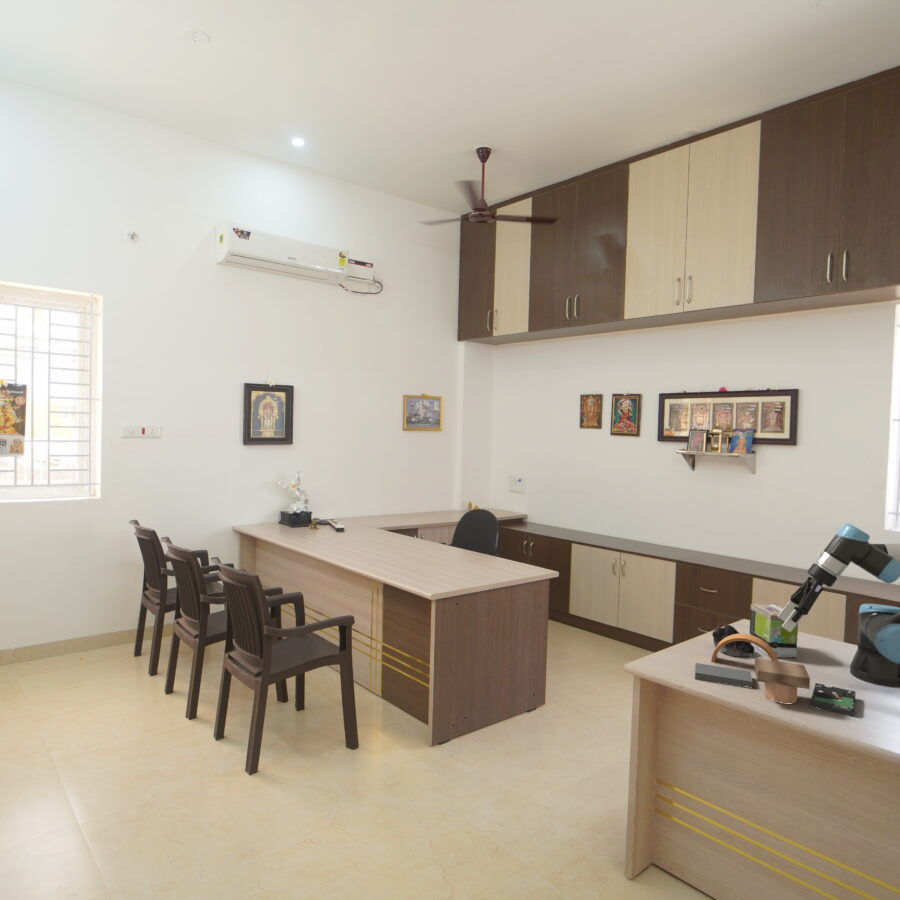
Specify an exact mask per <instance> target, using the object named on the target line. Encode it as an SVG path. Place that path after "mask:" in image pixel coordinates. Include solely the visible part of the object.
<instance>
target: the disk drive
mask: <svg viewBox="0 0 900 900" xmlns="http://www.w3.org/2000/svg"><path fill="white" fill-rule="evenodd" d="M855 703H856V691H855V690H851V689H844V688H840V687H836V686H825V684H822V683H818V682H816V683H815V684H814V688H813V691H812V695H811V701H810V707H811V706H813V707H817V708H816V709H818V708H820V709H819V710H822V709H823V710H822V711H826V710H827V711H826V712H832V713H835V714H839V715H844V716H847V717H852V718H853V717H854V715H855ZM813 707H812V708H813Z"/></svg>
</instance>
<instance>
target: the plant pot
mask: <svg viewBox="0 0 900 900" xmlns="http://www.w3.org/2000/svg"><path fill="white" fill-rule="evenodd" d="M763 683H764V689H763V691H764V692H763V694H764V697H765V698H766V697H767V698H769V699H772V700H774V701H777V702H783V703H793V702H795V703H796V702H797V700H798V687H792V686H786V685H779V684H773V683H767V682H763ZM767 698H766V699H767ZM769 699H768V700H769ZM793 704H794V703H793Z"/></svg>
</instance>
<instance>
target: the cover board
mask: <svg viewBox="0 0 900 900" xmlns="http://www.w3.org/2000/svg"><path fill="white" fill-rule="evenodd" d="M754 671H755V676H756V682H762V683H764V682H767V683H773V684H779V685H786V686H792V687H797V689H798V688H799V689H805V690H810V689H811V688H810V687H811V684H810V683H811V677H810V675H809V674H808V671H807V668H806V667H805V664H800V663H792V662H785V661H779V660H778V661H772V660H771V659H764V658H759V657H754Z"/></svg>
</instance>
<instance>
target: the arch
mask: <svg viewBox="0 0 900 900" xmlns="http://www.w3.org/2000/svg"><path fill="white" fill-rule="evenodd" d="M734 641H745V642H750V643H752V644H755V645H757V646H758V647H760V648H761V649H763V650H764V651H765V652H766V653H767V654H768V655H767V657H769V658H770V660H772V661H779V659H778V658H779V657H777V656H776V654H775V652H774V651H773V650H772V648H771V647H770V646H769V645H768V644H767V643H766V642H764V641H763V640H761V639H760V638H758V637H755V636H753V635H749V633H740V634H733V635H730V636H728V637H725V638H724V639H723V640H721V641H720V643H719V644H718V645H717V647H716V648H715V649H714V651H713V653H712V655H711V656H712V657H711V662H710V663H713V662H714V663H716V660H717V657H718V653H719V652H720V651H719V650H720V649H721V648H722V647H723V646H724V645H726V644H728V643H730V642H734ZM714 663H713V664H714Z"/></svg>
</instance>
